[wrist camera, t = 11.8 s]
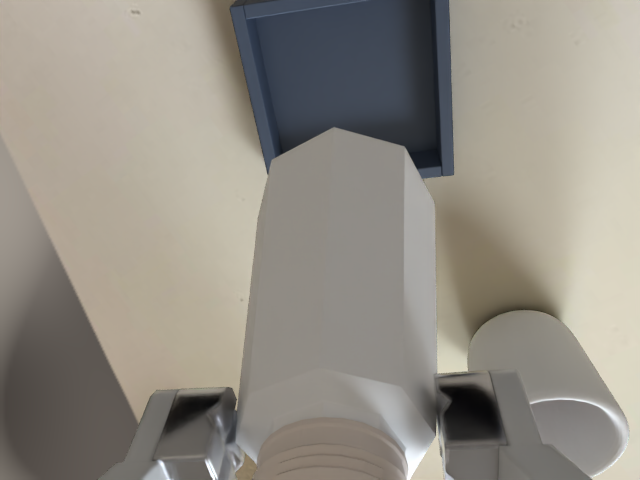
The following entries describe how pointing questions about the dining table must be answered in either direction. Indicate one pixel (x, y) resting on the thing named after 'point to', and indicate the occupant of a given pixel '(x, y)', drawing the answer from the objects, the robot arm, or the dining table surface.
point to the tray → (350, 73)
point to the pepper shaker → (341, 315)
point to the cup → (555, 386)
